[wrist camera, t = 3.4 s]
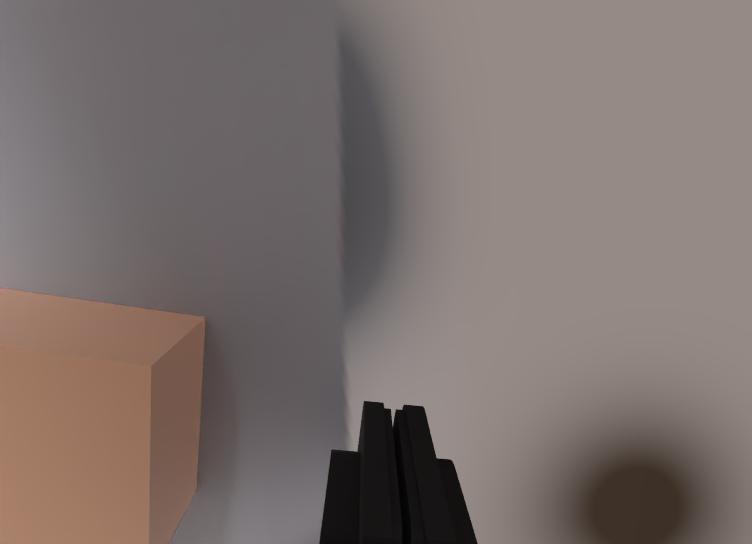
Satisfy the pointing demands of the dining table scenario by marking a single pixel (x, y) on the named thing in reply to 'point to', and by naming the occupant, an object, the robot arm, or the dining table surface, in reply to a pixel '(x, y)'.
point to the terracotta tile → (96, 420)
